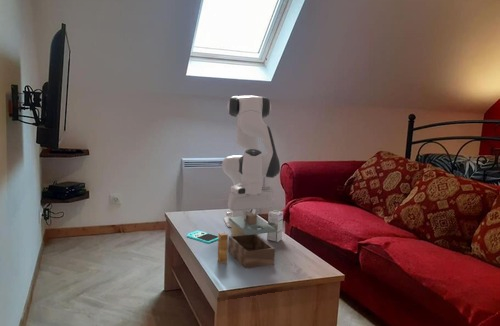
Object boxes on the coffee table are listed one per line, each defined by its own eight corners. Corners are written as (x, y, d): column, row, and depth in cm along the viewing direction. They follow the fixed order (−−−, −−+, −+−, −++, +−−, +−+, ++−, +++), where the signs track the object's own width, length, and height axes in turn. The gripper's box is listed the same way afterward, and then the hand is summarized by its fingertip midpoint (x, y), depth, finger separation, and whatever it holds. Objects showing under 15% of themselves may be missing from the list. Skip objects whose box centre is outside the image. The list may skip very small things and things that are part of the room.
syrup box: (282, 239, 206) (283, 211, 204) (276, 242, 201) (278, 214, 199) (272, 237, 209) (273, 209, 207) (266, 240, 204) (268, 212, 202)
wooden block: (217, 262, 174) (218, 233, 172) (224, 261, 175) (225, 232, 173) (219, 265, 171) (220, 235, 169) (226, 264, 172) (227, 234, 170)
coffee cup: (247, 246, 194) (248, 222, 193) (228, 244, 196) (228, 220, 194) (251, 240, 203) (252, 216, 202) (232, 238, 205) (233, 214, 203)
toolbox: (228, 253, 185) (228, 236, 184) (254, 250, 190) (255, 233, 189) (245, 270, 167) (246, 252, 166) (273, 266, 172) (274, 248, 171)
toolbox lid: (229, 220, 183) (229, 210, 182) (255, 217, 188) (256, 208, 187) (246, 235, 165) (247, 223, 164) (275, 232, 170) (276, 221, 169)
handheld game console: (198, 232, 213) (198, 229, 213) (222, 239, 204) (222, 236, 204) (184, 237, 205) (184, 234, 205) (209, 244, 196) (209, 241, 196)
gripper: (270, 184, 182) (268, 214, 185) (227, 187, 174) (225, 218, 176) (276, 188, 176) (274, 218, 179) (232, 190, 168) (231, 223, 171)
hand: (250, 218), depth 178 cm, fingers closed on toolbox lid, 3 cm apart
